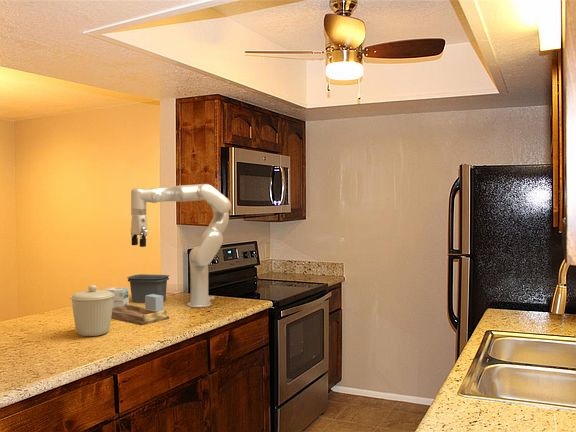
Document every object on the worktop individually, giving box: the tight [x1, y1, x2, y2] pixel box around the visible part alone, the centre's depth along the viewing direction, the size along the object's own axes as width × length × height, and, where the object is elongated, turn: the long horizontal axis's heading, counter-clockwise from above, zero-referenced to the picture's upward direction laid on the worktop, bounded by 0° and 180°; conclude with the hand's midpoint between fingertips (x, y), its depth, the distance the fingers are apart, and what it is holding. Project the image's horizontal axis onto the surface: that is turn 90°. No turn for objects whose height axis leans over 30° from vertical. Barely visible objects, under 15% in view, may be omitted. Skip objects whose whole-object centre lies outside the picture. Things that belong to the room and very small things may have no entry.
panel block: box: [144, 294, 164, 311], centre depth 278 cm, size 5×8×8 cm, turn 54°
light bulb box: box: [103, 287, 130, 308], centre depth 284 cm, size 11×7×11 cm, turn 84°
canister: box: [69, 284, 115, 337], centre depth 233 cm, size 18×18×21 cm
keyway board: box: [111, 304, 170, 326], centre depth 264 cm, size 16×30×4 cm, turn 54°
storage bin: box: [126, 273, 170, 304], centre depth 303 cm, size 21×16×14 cm
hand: (138, 245), depth 280 cm, fingers open, 9 cm apart
